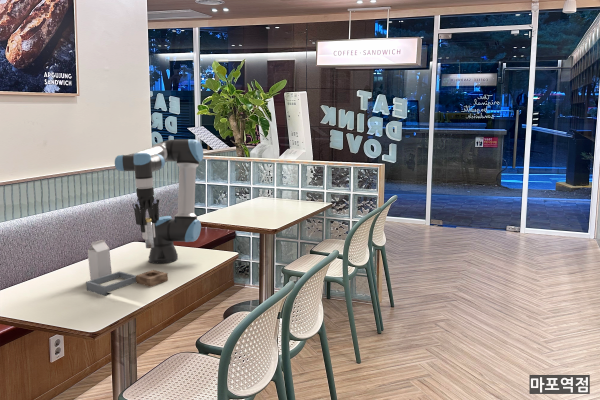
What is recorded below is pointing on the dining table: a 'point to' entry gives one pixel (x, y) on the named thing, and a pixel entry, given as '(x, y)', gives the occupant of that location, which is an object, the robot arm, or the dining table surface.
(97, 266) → the milk carton
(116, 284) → the tray
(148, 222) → the small bottle
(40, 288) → the dining table surface
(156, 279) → the block
